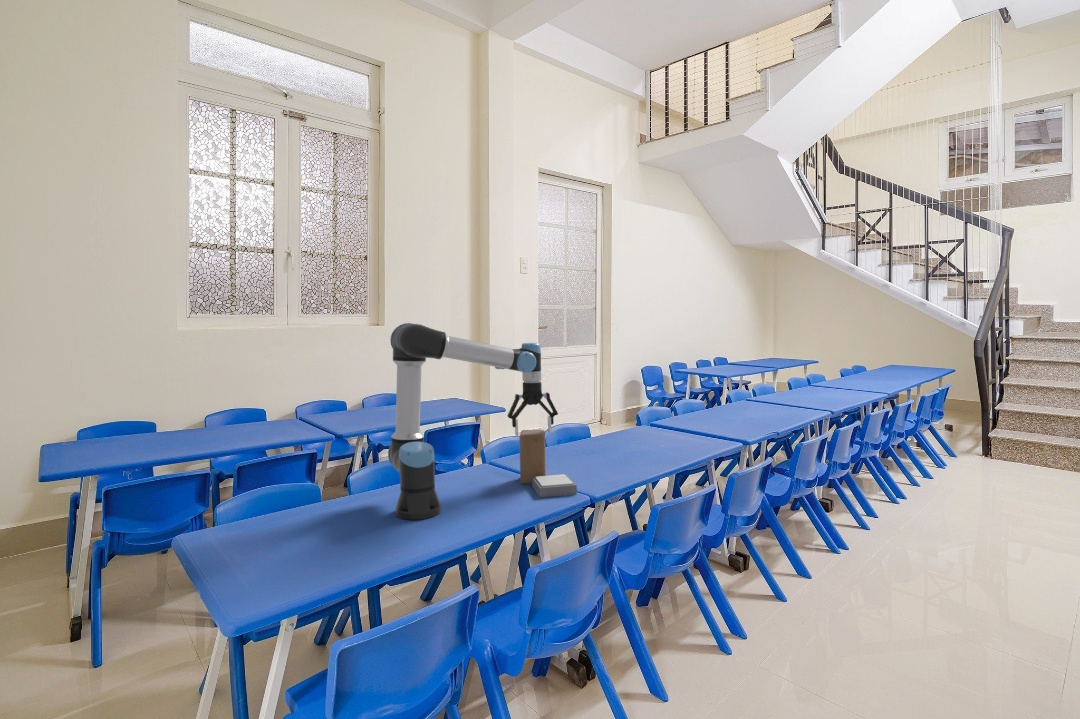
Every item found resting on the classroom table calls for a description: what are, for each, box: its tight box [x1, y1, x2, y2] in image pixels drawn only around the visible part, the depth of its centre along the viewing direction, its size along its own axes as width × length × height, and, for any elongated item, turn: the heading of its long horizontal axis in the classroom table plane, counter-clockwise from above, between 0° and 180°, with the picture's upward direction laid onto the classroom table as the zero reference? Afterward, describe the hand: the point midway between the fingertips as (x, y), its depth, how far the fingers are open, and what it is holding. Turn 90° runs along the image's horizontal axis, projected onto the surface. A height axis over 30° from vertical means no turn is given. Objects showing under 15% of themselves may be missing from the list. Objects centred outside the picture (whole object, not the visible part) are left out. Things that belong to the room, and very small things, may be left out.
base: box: [531, 473, 578, 498], centre depth 220 cm, size 14×14×4 cm
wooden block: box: [519, 429, 547, 485], centre depth 231 cm, size 10×10×20 cm
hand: (533, 433), depth 231 cm, fingers open, 13 cm apart
